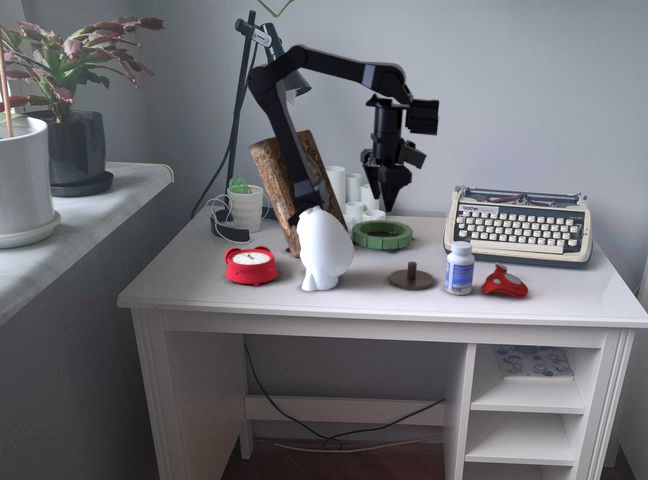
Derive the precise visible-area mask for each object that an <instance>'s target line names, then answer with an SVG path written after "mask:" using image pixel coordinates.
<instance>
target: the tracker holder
mask: <svg viewBox="0 0 648 480" xmlns="http://www.w3.org/2000/svg"><path fill="white" fill-rule="evenodd" d="M494 267H495V269H494V271H493V272H491V274H489V275H488V276H487V277H486V278H485V280H484V283H483V284H482V285H481V286H480V289H481V290H482V291H483V292H484V293H485V294H486V295H489V294H490V293H491V292H500V293H503V294H506V295H509V296H512V297H515V298H519V299H521V298H522V299H523V298H525V297H527V296H528V293H529V287H528V286H527V285H526V283H524V282H523V281H522V279H520V278H518V277H517V276H515V275H514V274H511V273H508V267H507V266H505V265H503V264H501V263H499V262H498V261H496V262H495V265H494Z"/></svg>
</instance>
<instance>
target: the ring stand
mask: <svg viewBox="0 0 648 480" xmlns="http://www.w3.org/2000/svg"><path fill="white" fill-rule="evenodd" d="M417 264H418V263H417V261H408V262H407V269H397V270H395V271H393V272H391V273H390V274H389V276H388V281H389V284H390V285H392V286H393V287H395V288H397V289H401V290H406V291H422V290H426V289H429V288H431V287H432V286H433V285H434V282H435V281H434V280H435V278H434V276H433V275H432V274H430V273H429V272H426V271H424V270H419V269H417V268H418V267H417Z"/></svg>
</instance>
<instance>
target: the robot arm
mask: <svg viewBox="0 0 648 480" xmlns="http://www.w3.org/2000/svg"><path fill="white" fill-rule="evenodd" d="M300 69H304V70H308V71H313V72H317V73H320V74H324V75H328V76H332V77H335V78H339V79H343V80H346V81H351V82H355V83H357V84H360V85H361V86H363V87H365V88H366V89H368V90H370V91H372V92H374V93H373V94H372V96H371V97H370V98H369V99H367V100H366V102H365V104H364V105H365V107H371V108H374V115H373V117H374V119H373V132H371V133H370V140H372V148H364V149H363V150H362V151H361V152H360V157H359V158H360V160H359V162H360V163H361V166H362V169H363V172H364V174H365V177H366V179H367V183H368V185H369V187H370V191H371V194H372V198H373V199H374V200H377V201H379V200H380V197H381V199H382V203H383V207H384V210H385V213H391V212H392V210H393V208H394V205H395V203H396V201H397V197H398V195H399V194H400V191H401V190H403V188H404V187H407V186H409V184H412V183H413V172H412V171H411V170H410V168H408V167H407V166H406V165H405V163H406V164H408V165H411V166H413V167H415V169H418V170H421V169H422V168H423V166H424V163H425V161H426V159H427V157H428V155H427V154H426V153H424V152H423V151H422V150H419V149H418V148H417V144H416V143H415V142H414V141H412V140H409V139H407V140H405V138H404V137H402V129H403V116H404V111H405V119H404V128H406V129H407V130H408V131H409V134H414V135H415V134H416V135H425V136H435V137H437V136H438V130H439V129H438V127H439V120H440V115H439V111H440V110H439V109H440V100H439V99H423V98H415V97H414V95H413V92H412V91H411V90H410V88H409V86H408V84H407V75H406V72H405V70H404V68H403V67H402V66H401V65H400V64H398V63H395V62H383V61H363V60H358V59H355V58H350V57H346V56H343V55H338V54H335V53H332V52H327V51H324V50H321V49H320V50H319V49H316V48H312V47H309V46H306V45H305V44H301V43H298V44H295V45H291V47H289V48H288V50H287V51H285V52H284V53H283V54H281V55H279V56H278V57H276V58H275V59H274V60H272V61H270V63H269V62H268V63H263V64H260V65H259V64H258V65H257V66H255V67H253V68H251V69H250V71H249V72H248V74H247V76H246V86H247V88H248V90H249V92H250V94H251V96H252V97H253V99H254V100H255V102H256V104H257V105H258V106H259V107H260V109H261V110H262V111H263V112H264V113H265V115H266V116H267V119H268V121H269V124H270V126H271V129H272V131H273V133H274V137H276V139H277V141H278V144H279V146H280V149H281V152H282V154H283V157H284V159H285V162H286V164H287V167H288V169H289V172H290V174H291V177H292V179H293V183H294V194H295V201H296V206H297V211H296V212H295V213H294V214H293V215H292V216H291V217H290V218H289V219H288V220H287V221H288V224H289V226H290V229H291V227H292V226H293V225H295V226H298V222H299V220H300V217H299V216H300V215H301V214H302V213H303V212H304V211H306V210H308V209H310V208H314V207H316V206H319V207H320V208H321V210H323V211H326V209H327V207H328V204H329V200H328V198H329V196H330V194H329V193H328V192H327V190H326V187H325V182H324V179H321V180H319V181H318V180H317V179H316V178H315V177H314V176H313V174H312V172H311V170H310V167H309V165H308V162H307V159H306V157H305V154H304V151H303V149H302V146H301V143H300V141H299V138H298V135H297V133H296V132H297V130H296V128H295V125H294V123H293V119H292V117H291V115H290V112H289V108H288V104H287V103H288V102H287V92H286V87H285V81H284V80H286V79H287V78H289V77H291V76H292V75H293V74H294V73H296V72H297V71H298V70H300ZM379 95H381V96H383V97H380V96H379ZM394 101H396V102H397V103H394ZM285 251H286V252H287V253H291V251H290V248H289V247H287V248H285Z"/></svg>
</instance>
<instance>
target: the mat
mask: <svg viewBox="0 0 648 480" xmlns="http://www.w3.org/2000/svg"><path fill="white" fill-rule="evenodd" d="M365 234H367V235H370V236H376V237H396V236H399V235H398V234H396V233H391V232H383V231H379V232H369V233H365ZM414 238H415V237H412V241H414ZM352 243H353V246H359V247H364V246H361V245H359V244H356V243H355V242H354V240H352ZM364 248H365V247H364ZM371 249H373V250H375V249H374V248H371ZM400 249H401V248H397V249H384V250H383V249H376V251H377V250H378V251H381V252H387V253H391V254H394V253H396V252H397V251H399V250H400Z"/></svg>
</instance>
